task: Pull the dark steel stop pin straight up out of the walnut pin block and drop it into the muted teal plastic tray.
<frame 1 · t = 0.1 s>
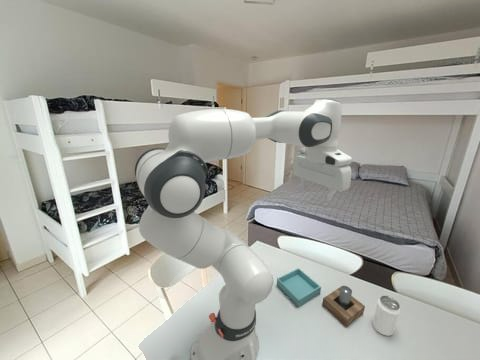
hand: (316, 194, 72), 48 cm above the table, fingers open, 8 cm apart
pin block: (342, 309, 84), on the table
tray: (297, 289, 93), on the table
pin: (344, 300, 83), in the pin block
can: (382, 328, 78), on the table
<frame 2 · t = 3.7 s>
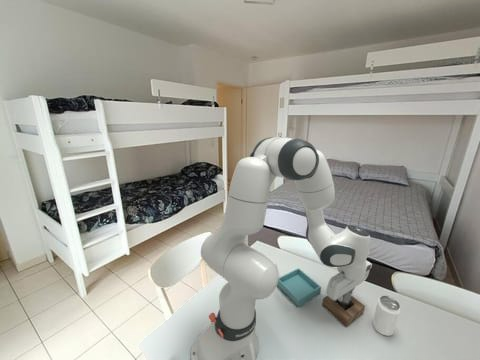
hand: (344, 296, 82), 7 cm above the table, fingers closed on pin, 4 cm apart
pin: (344, 300, 83), in the pin block, touching gripper
everything else where it was.
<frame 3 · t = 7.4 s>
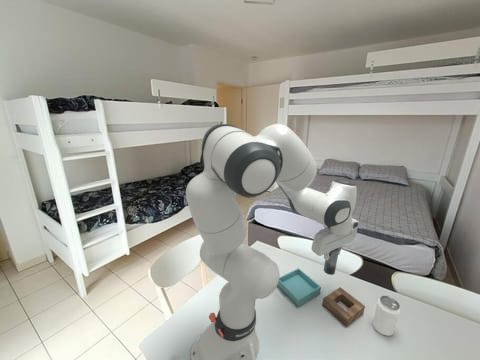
hand: (331, 256, 80), 22 cm above the table, fingers closed on pin, 4 cm apart
pin: (331, 260, 81), point 21 cm above the table, touching gripper
everything else where it was.
when the fingers open (9 cm above the table, at t = 11.1 s): pin drops 1 cm, resting on tray.
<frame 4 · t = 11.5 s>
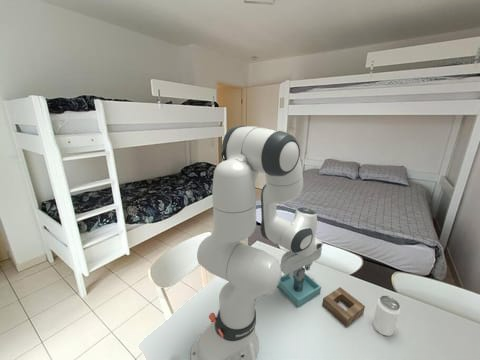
hand: (299, 273, 91), 9 cm above the table, fingers open, 8 cm apart
pin: (298, 278, 92), in the tray, point 6 cm above the table
everything else where it was.
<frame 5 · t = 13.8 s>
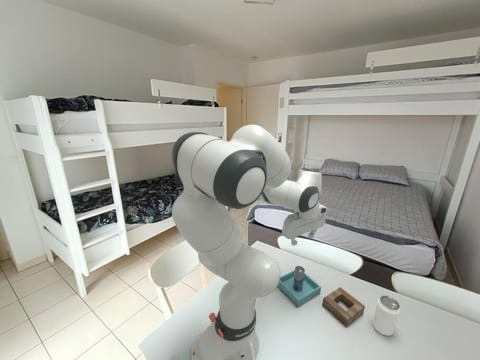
hand: (302, 241, 85), 25 cm above the table, fingers open, 8 cm apart
nothing on the table moved.
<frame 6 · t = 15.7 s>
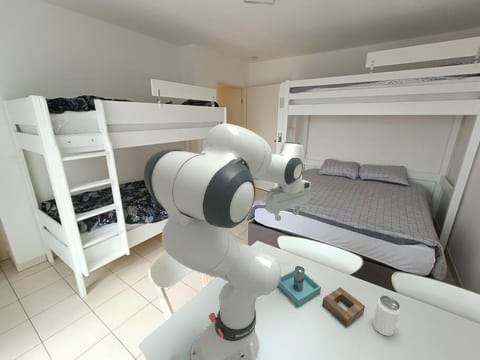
hand: (287, 217, 85), 34 cm above the table, fingers open, 8 cm apart
nothing on the table moved.
at the end: pin inside the target area on the tray (0.0 cm from its centre), point 6.0 cm above the tray's base; the gripper is holding nothing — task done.
